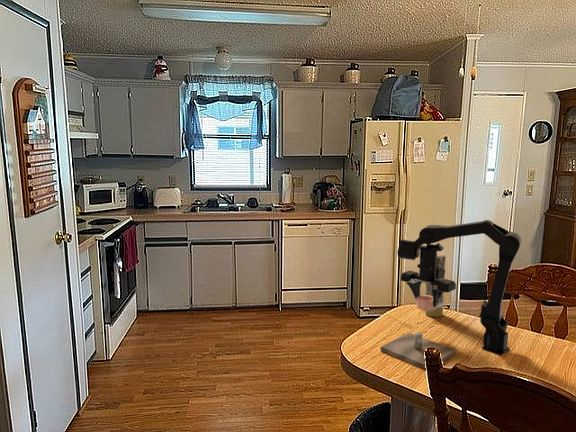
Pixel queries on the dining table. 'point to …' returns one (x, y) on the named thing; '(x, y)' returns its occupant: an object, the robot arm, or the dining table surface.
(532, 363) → the dining table surface
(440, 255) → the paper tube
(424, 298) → the spool ring
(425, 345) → the board
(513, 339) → the dining table surface
